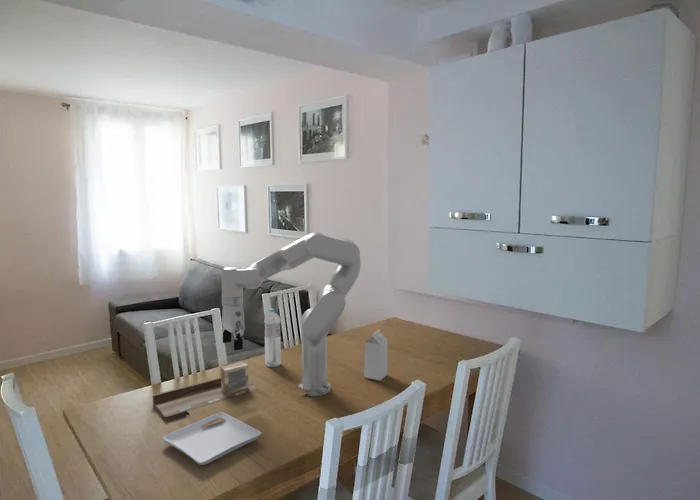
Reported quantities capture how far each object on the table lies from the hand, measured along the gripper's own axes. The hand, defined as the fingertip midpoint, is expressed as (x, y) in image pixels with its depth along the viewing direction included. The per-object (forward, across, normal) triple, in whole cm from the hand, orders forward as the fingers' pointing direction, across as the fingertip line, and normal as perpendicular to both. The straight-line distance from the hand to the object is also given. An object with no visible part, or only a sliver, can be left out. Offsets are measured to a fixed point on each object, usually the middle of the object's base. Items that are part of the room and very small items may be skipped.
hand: (232, 345), depth 166 cm
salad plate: (+19, -28, +19) cm, 39 cm away
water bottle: (+18, +16, -26) cm, 35 cm away
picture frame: (+17, 0, -1) cm, 17 cm away
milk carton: (+17, -22, -53) cm, 59 cm away
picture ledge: (+18, 0, +9) cm, 21 cm away
